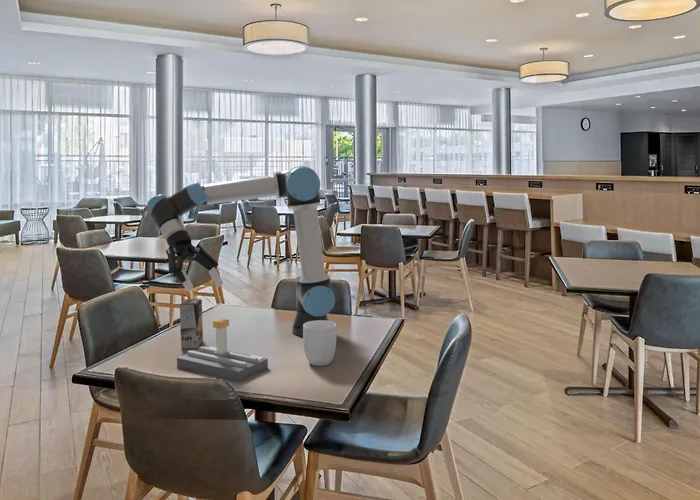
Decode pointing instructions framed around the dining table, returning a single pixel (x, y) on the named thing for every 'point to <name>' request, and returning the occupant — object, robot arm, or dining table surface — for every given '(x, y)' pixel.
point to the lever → (221, 337)
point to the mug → (319, 341)
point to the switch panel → (222, 363)
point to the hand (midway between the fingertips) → (206, 287)
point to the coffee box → (191, 323)
